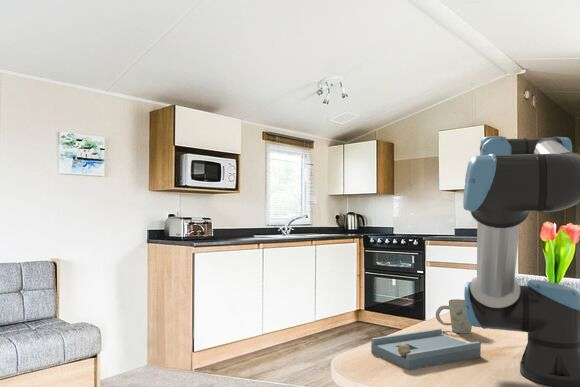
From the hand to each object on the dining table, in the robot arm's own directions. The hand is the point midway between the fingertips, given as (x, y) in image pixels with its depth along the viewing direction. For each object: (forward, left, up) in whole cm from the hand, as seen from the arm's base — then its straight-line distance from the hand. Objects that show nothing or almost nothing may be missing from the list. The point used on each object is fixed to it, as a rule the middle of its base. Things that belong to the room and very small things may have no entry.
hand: (493, 267), depth 141 cm
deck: (+5, +22, -24) cm, 33 cm away
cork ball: (0, +34, -20) cm, 39 cm away
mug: (+20, -5, -24) cm, 32 cm away
